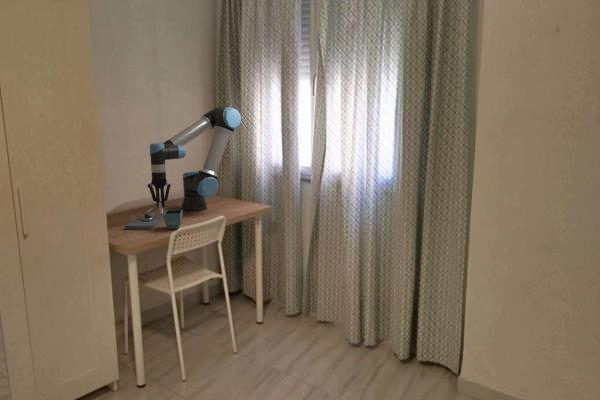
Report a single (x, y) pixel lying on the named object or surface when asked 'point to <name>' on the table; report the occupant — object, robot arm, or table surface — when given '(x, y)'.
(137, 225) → the dial plate
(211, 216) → the table surface
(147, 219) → the dial lever
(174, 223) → the flower pot
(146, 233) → the table surface
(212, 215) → the table surface
